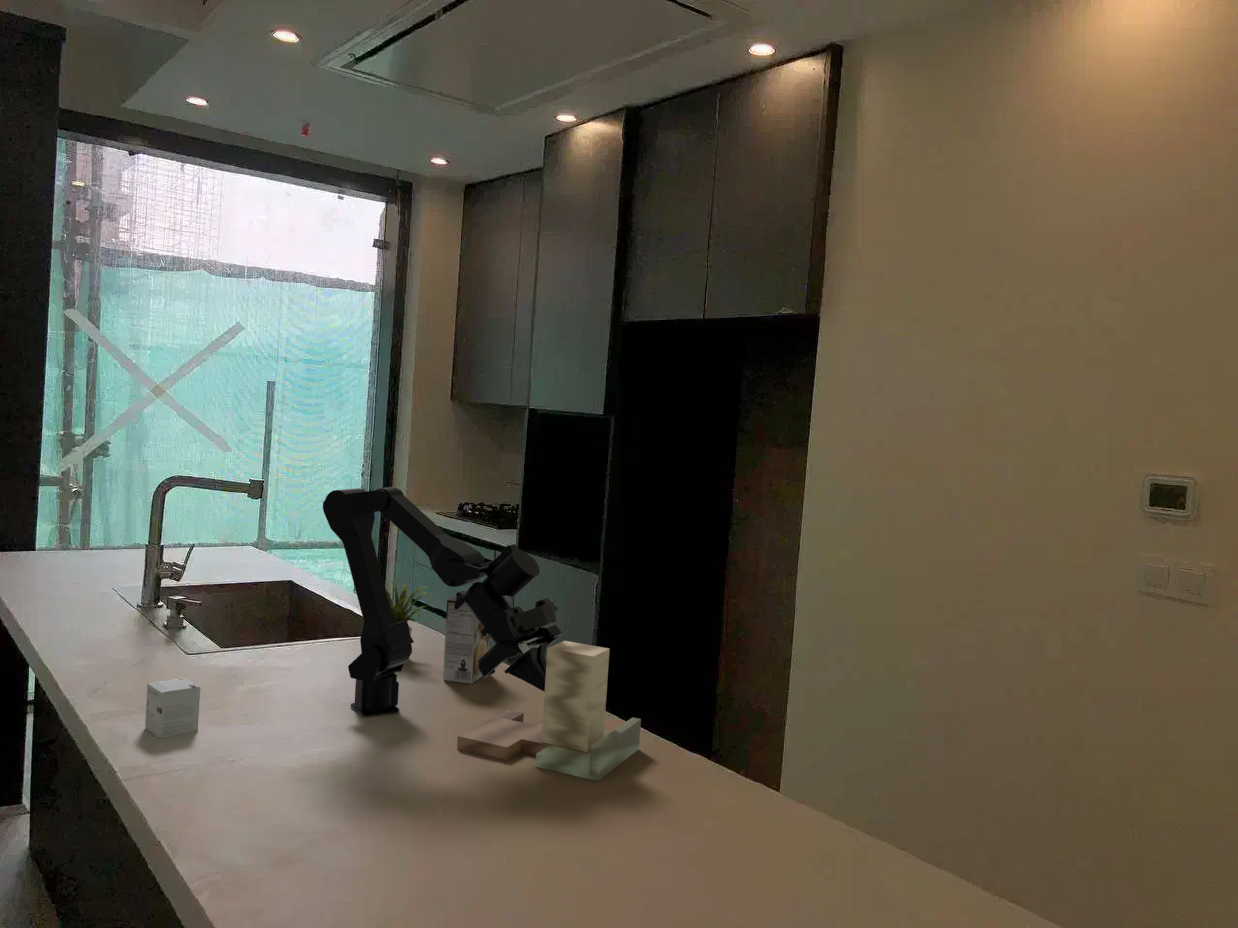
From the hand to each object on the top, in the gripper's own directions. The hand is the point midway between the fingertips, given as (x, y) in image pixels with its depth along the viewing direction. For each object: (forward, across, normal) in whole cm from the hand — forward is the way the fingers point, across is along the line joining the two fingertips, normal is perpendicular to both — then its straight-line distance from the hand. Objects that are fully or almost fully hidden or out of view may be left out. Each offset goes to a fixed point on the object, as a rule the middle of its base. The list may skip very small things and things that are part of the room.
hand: (551, 691), depth 156 cm
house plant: (-30, +30, +43) cm, 60 cm away
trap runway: (+7, 0, +6) cm, 9 cm away
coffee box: (-16, +27, +30) cm, 43 cm away
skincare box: (-31, -26, +44) cm, 60 cm away
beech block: (+8, 0, +2) cm, 8 cm away
